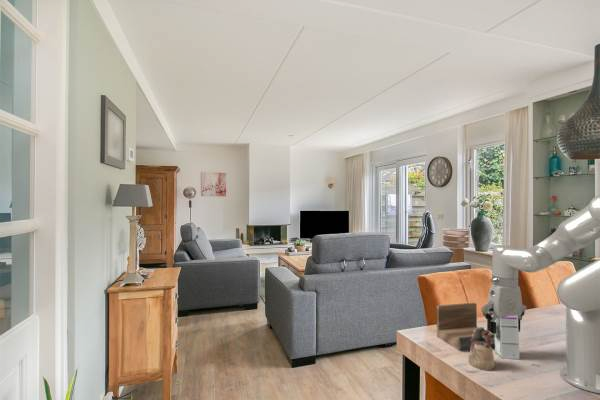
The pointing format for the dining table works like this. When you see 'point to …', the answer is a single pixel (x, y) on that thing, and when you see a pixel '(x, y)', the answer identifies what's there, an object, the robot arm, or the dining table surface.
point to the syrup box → (507, 337)
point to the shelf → (458, 325)
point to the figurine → (481, 350)
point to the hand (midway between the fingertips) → (503, 331)
